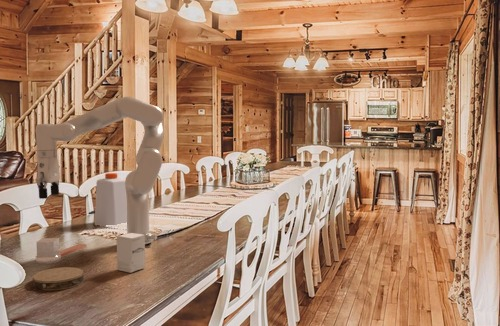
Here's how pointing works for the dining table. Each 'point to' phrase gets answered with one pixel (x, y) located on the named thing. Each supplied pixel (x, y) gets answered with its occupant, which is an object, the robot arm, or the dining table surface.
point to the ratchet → (60, 254)
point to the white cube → (48, 247)
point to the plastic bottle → (110, 201)
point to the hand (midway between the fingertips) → (49, 196)
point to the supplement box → (130, 252)
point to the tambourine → (58, 278)
